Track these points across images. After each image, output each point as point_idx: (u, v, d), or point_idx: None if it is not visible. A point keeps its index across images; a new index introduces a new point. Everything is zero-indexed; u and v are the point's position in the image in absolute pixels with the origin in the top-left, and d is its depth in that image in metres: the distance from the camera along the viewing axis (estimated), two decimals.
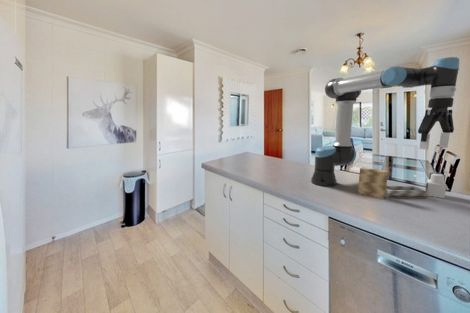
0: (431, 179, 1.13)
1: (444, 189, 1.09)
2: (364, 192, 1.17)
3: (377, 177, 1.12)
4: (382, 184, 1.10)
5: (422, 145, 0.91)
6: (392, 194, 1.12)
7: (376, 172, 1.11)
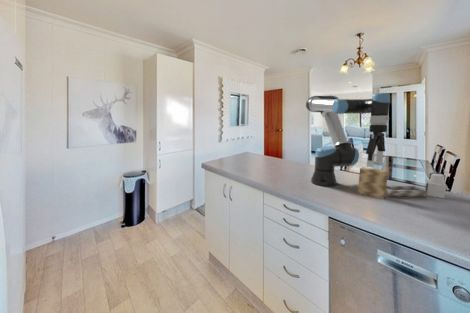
0: (431, 179, 1.13)
1: (444, 189, 1.09)
2: (364, 192, 1.17)
3: (377, 177, 1.12)
4: (382, 184, 1.10)
5: (369, 163, 1.09)
6: (392, 194, 1.12)
7: (376, 172, 1.11)
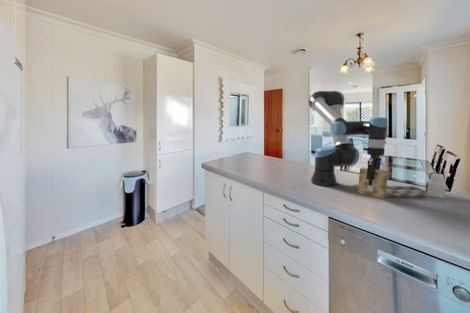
0: (431, 179, 1.13)
1: (444, 189, 1.09)
2: (364, 192, 1.17)
3: (377, 177, 1.12)
4: (382, 184, 1.10)
5: (369, 188, 1.14)
6: (392, 194, 1.12)
7: (376, 172, 1.11)
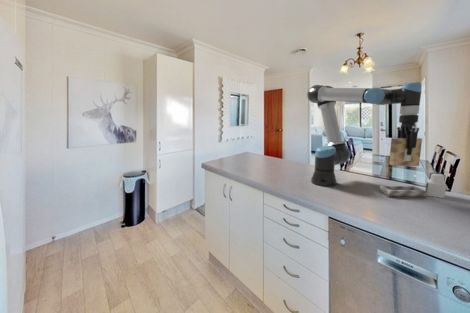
0: (431, 179, 1.13)
1: (444, 189, 1.09)
2: (400, 163, 1.11)
3: None
4: (418, 151, 1.09)
5: (406, 158, 1.09)
6: (392, 194, 1.12)
7: None
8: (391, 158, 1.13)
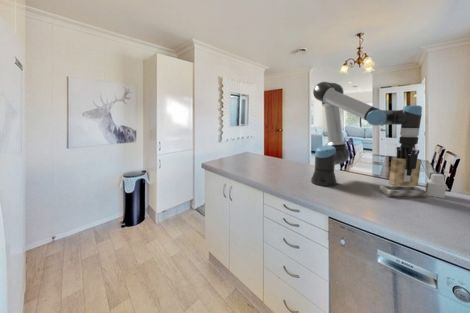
0: (431, 179, 1.13)
1: (444, 189, 1.09)
2: (400, 183, 1.13)
3: None
4: (417, 172, 1.11)
5: (406, 178, 1.12)
6: (392, 194, 1.12)
7: None
8: (391, 178, 1.15)
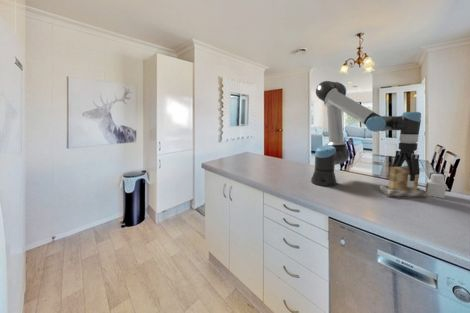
0: (431, 179, 1.13)
1: (444, 189, 1.09)
2: None
3: None
4: (416, 180, 1.12)
5: (410, 183, 1.09)
6: (392, 194, 1.12)
7: None
8: (390, 186, 1.16)
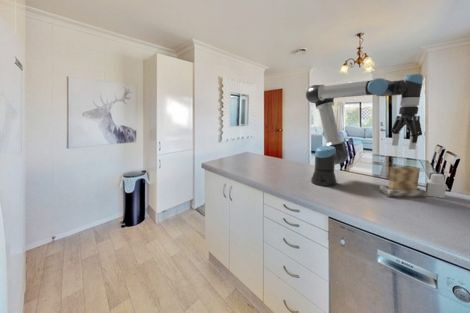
0: (431, 179, 1.13)
1: (444, 189, 1.09)
2: None
3: (411, 174, 1.12)
4: (416, 180, 1.12)
5: (412, 146, 1.07)
6: (392, 194, 1.12)
7: (411, 169, 1.11)
8: (390, 186, 1.16)
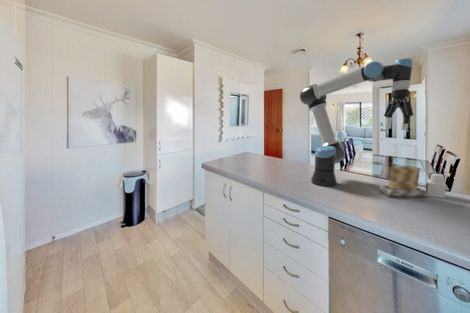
0: (431, 179, 1.13)
1: (444, 189, 1.09)
2: None
3: (411, 174, 1.12)
4: (416, 180, 1.12)
5: (404, 126, 1.12)
6: (392, 194, 1.12)
7: (411, 169, 1.11)
8: (390, 186, 1.16)
